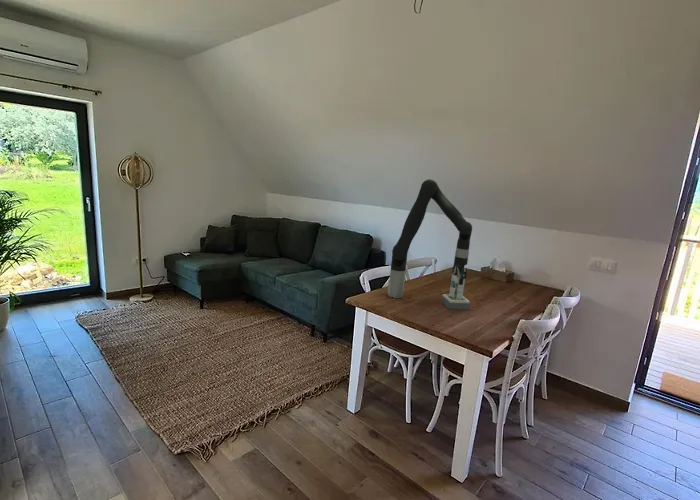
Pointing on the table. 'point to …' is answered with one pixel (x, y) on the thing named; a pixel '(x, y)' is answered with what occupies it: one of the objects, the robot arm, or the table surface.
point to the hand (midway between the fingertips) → (457, 282)
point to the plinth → (455, 303)
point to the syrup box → (456, 288)
